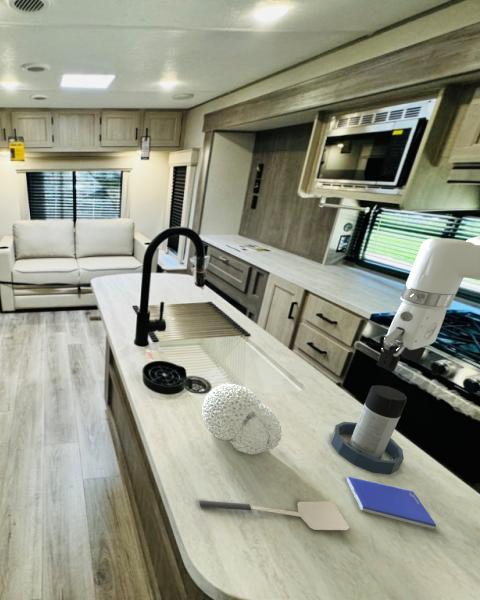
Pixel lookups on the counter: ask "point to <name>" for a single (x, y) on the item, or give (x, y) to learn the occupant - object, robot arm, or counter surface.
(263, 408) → the white textured rounded lump
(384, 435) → the spray can
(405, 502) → the hard drive
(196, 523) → the counter surface
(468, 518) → the counter surface
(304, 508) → the spatula
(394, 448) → the faceted blue ring
